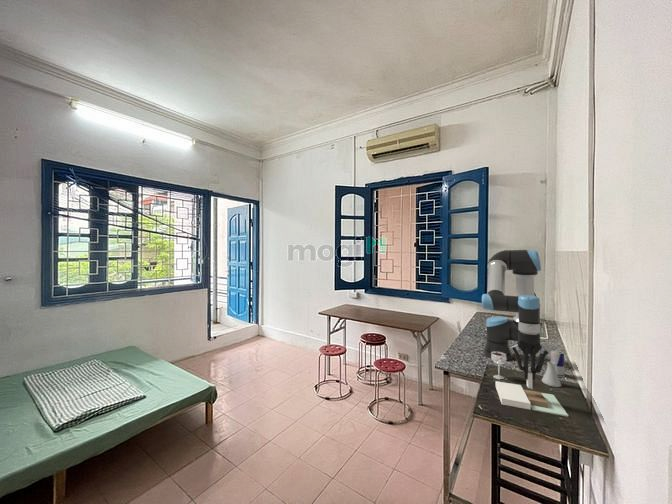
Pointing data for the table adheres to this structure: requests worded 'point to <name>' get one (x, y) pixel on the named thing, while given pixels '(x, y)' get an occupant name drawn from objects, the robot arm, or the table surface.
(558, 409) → the mat
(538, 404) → the walnut tile
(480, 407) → the table surface
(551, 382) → the flask
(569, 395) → the table surface
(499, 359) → the wineglass
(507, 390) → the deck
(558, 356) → the energy drink
